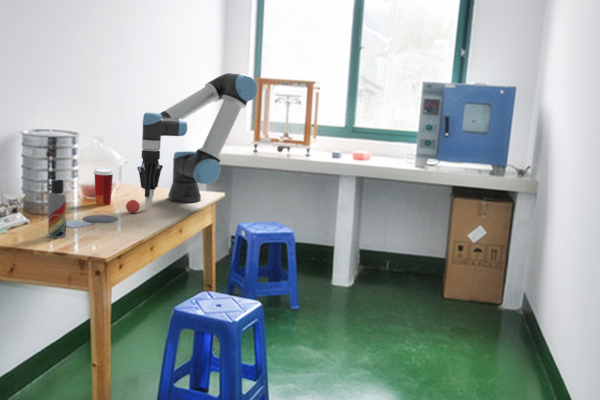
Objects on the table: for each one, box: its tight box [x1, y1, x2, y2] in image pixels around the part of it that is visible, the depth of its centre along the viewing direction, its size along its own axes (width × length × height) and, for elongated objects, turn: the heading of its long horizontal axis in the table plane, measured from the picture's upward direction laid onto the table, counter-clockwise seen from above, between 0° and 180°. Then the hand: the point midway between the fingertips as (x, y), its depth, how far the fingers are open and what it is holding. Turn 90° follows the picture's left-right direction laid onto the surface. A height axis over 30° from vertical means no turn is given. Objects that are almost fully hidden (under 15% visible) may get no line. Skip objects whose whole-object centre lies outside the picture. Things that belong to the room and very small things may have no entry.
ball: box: [125, 199, 141, 214], centre depth 250 cm, size 6×6×6 cm
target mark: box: [82, 214, 119, 224], centre depth 236 cm, size 13×13×1 cm
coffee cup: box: [93, 168, 114, 207], centre depth 261 cm, size 8×8×15 cm
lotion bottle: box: [47, 179, 67, 239], centre depth 207 cm, size 6×6×20 cm
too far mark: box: [66, 219, 94, 229], centre depth 226 cm, size 9×9×1 cm
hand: (148, 204), depth 258 cm, fingers closed
